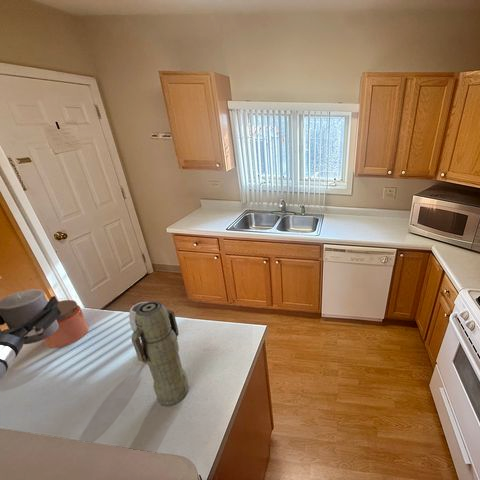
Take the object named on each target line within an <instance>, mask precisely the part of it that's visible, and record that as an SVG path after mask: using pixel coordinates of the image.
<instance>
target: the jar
mask: <svg viewBox="0 0 480 480" xmlns="http://www.w3.org/2000/svg"><path fill="white" fill-rule="evenodd" d="M57 306H58V307H59V309H60V311H61V313H62V314H61V315H60V316H59V317H58V318H57V319H56V320H57V322H58V324H59V328H58V330H57V331H56V332H55V333H53V334H52V335H50V336H49V337H47V338H45V339H43V340H42V341H43V343H44V345H45V347H47V348H50V349H57V348H62V347H65V346H69V345H72V344H73V343H76V342H77V341H79V340H81V339H82V338H83V337H84V336H86V334H87V333H88V332H89V330H90V327H89V324H88V321H87V319H86V317H85V314H84V313H83V311H82V310H83V309H82V308H81V306H80V305H78V303H77V301H75V300H73V299H65V300H64V299H63V300H59V301H58V304H57Z"/></svg>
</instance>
